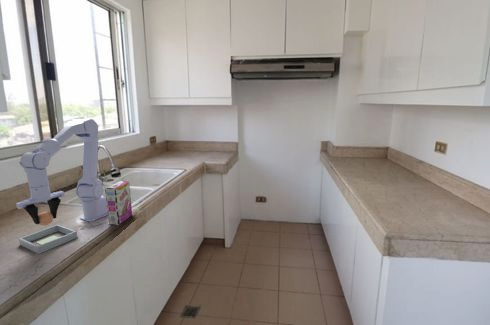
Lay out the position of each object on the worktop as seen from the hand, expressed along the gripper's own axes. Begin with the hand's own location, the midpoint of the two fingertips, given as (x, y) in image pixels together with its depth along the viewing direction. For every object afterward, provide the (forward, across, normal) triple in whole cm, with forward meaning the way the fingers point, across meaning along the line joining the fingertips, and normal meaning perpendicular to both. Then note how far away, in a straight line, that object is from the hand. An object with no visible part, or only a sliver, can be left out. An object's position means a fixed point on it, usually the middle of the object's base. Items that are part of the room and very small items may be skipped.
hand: (45, 220), depth 99 cm
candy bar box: (+8, -25, +8) cm, 28 cm away
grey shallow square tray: (+8, 0, 0) cm, 8 cm away
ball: (+2, 0, 0) cm, 2 cm away
